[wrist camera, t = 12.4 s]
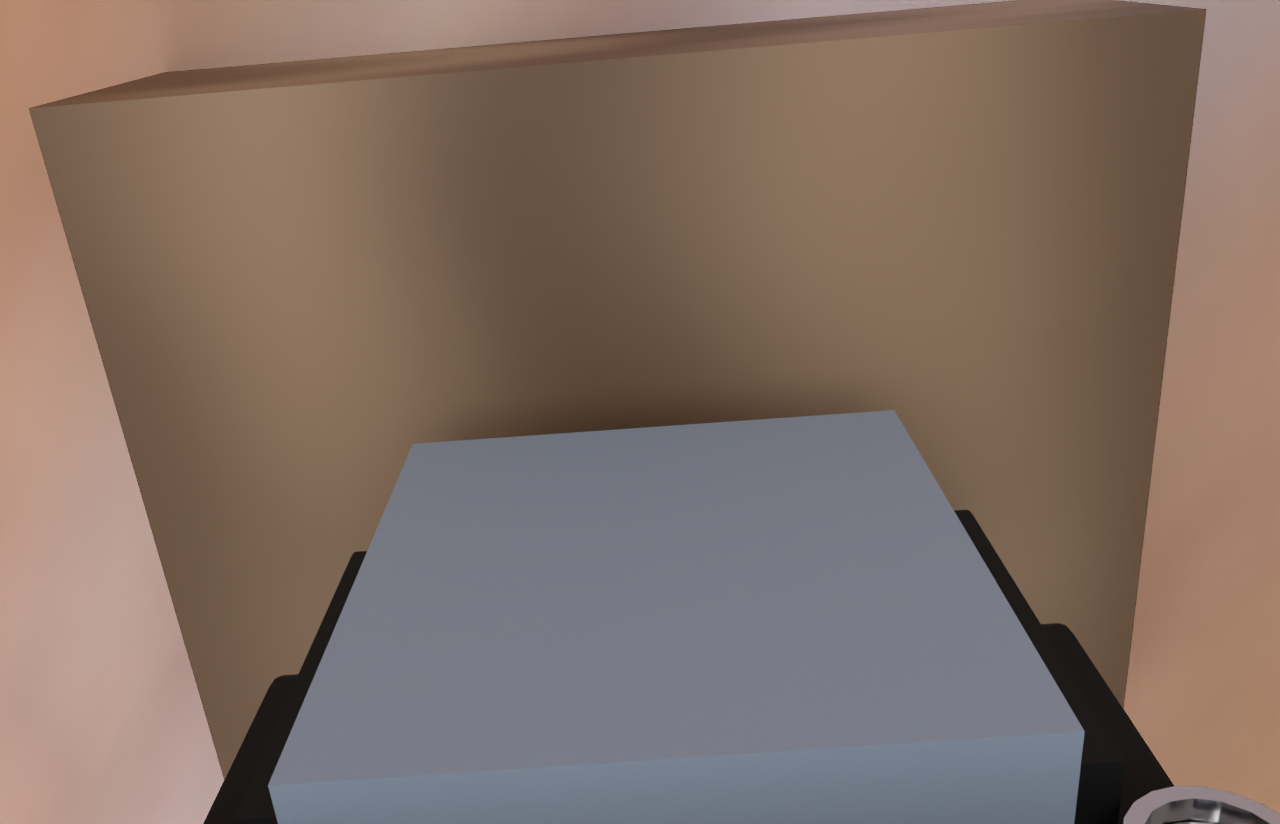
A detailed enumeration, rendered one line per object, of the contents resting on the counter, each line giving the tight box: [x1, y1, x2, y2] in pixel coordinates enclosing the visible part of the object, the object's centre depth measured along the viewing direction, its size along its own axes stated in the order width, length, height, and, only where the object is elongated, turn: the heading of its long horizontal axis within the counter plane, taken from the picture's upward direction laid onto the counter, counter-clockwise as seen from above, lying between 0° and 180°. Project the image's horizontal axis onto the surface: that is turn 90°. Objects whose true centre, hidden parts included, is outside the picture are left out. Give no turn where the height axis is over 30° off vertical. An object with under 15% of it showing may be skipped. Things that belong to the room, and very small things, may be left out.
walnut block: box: [29, 0, 1206, 780], centre depth 15 cm, size 12×12×4 cm
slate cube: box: [268, 410, 1085, 824], centre depth 10 cm, size 5×5×5 cm
